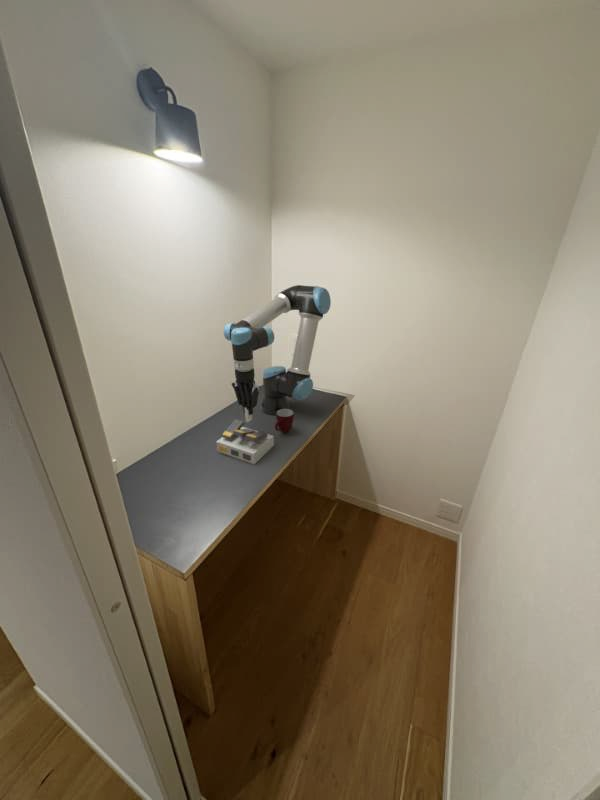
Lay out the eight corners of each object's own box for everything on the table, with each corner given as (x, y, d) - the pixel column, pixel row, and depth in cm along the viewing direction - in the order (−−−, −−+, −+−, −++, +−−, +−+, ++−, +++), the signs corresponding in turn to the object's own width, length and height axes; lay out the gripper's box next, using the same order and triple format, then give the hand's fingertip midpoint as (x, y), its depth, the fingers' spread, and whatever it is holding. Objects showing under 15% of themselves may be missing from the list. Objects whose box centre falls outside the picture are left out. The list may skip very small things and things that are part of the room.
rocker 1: (236, 421, 140) (235, 418, 138) (244, 423, 138) (243, 420, 137) (223, 437, 133) (221, 434, 132) (231, 440, 132) (230, 437, 130)
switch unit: (238, 434, 146) (237, 421, 143) (273, 445, 138) (273, 432, 135) (217, 451, 134) (215, 438, 131) (253, 464, 126) (252, 450, 123)
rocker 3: (258, 434, 136) (259, 430, 135) (267, 437, 134) (267, 432, 134) (244, 439, 127) (245, 434, 126) (254, 442, 125) (254, 437, 125)
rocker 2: (246, 432, 138) (247, 427, 138) (255, 434, 136) (256, 430, 136) (233, 434, 129) (233, 430, 129) (241, 437, 127) (242, 432, 127)
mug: (284, 440, 142) (284, 420, 138) (270, 435, 146) (269, 416, 142) (296, 429, 150) (296, 411, 146) (282, 425, 154) (282, 407, 150)
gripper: (224, 368, 123) (231, 420, 133) (252, 374, 117) (256, 428, 128) (236, 362, 128) (241, 413, 139) (263, 368, 123) (266, 419, 134)
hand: (249, 420), depth 134 cm, fingers closed
